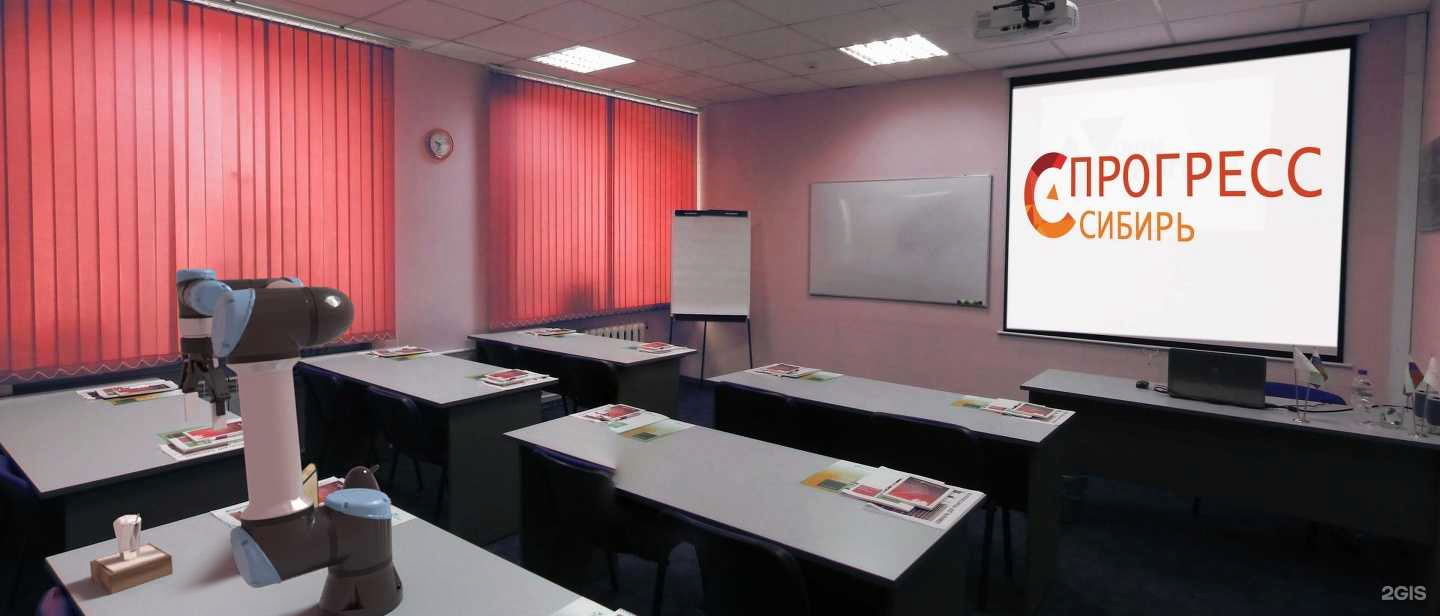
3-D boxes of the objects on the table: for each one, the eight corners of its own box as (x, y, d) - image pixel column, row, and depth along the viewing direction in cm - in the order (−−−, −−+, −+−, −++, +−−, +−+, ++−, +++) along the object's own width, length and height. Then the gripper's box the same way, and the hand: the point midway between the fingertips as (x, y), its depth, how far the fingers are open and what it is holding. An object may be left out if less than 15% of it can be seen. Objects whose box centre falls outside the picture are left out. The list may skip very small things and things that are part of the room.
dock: (172, 573, 154) (171, 554, 153) (112, 593, 145) (110, 574, 144) (150, 560, 159) (149, 541, 159) (91, 579, 150) (89, 560, 150)
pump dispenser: (392, 522, 182) (390, 465, 180) (353, 536, 173) (350, 476, 171) (369, 513, 187) (367, 457, 186) (330, 526, 179) (327, 468, 177)
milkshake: (131, 563, 149) (127, 518, 148) (110, 560, 150) (106, 515, 149) (152, 554, 153) (149, 509, 152) (132, 551, 154) (128, 507, 153)
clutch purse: (292, 518, 184) (289, 462, 182) (322, 515, 185) (319, 460, 184) (245, 572, 155) (241, 506, 153) (281, 569, 157) (277, 504, 155)
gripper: (244, 338, 160) (250, 429, 163) (193, 328, 173) (199, 412, 176) (207, 342, 154) (213, 437, 157) (157, 331, 167) (163, 419, 169)
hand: (205, 424), depth 166 cm, fingers open, 13 cm apart
